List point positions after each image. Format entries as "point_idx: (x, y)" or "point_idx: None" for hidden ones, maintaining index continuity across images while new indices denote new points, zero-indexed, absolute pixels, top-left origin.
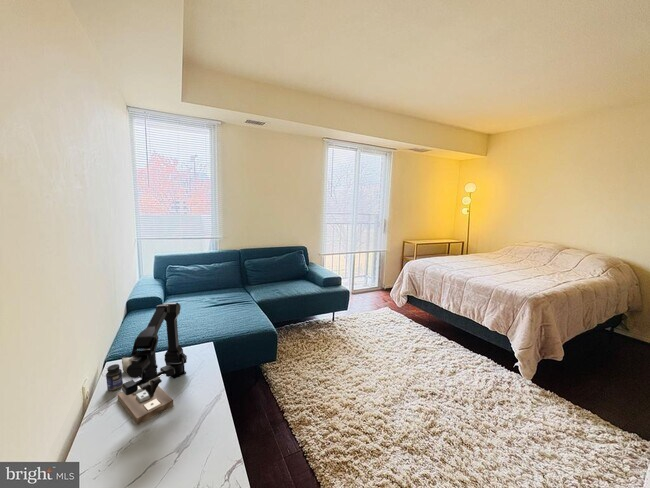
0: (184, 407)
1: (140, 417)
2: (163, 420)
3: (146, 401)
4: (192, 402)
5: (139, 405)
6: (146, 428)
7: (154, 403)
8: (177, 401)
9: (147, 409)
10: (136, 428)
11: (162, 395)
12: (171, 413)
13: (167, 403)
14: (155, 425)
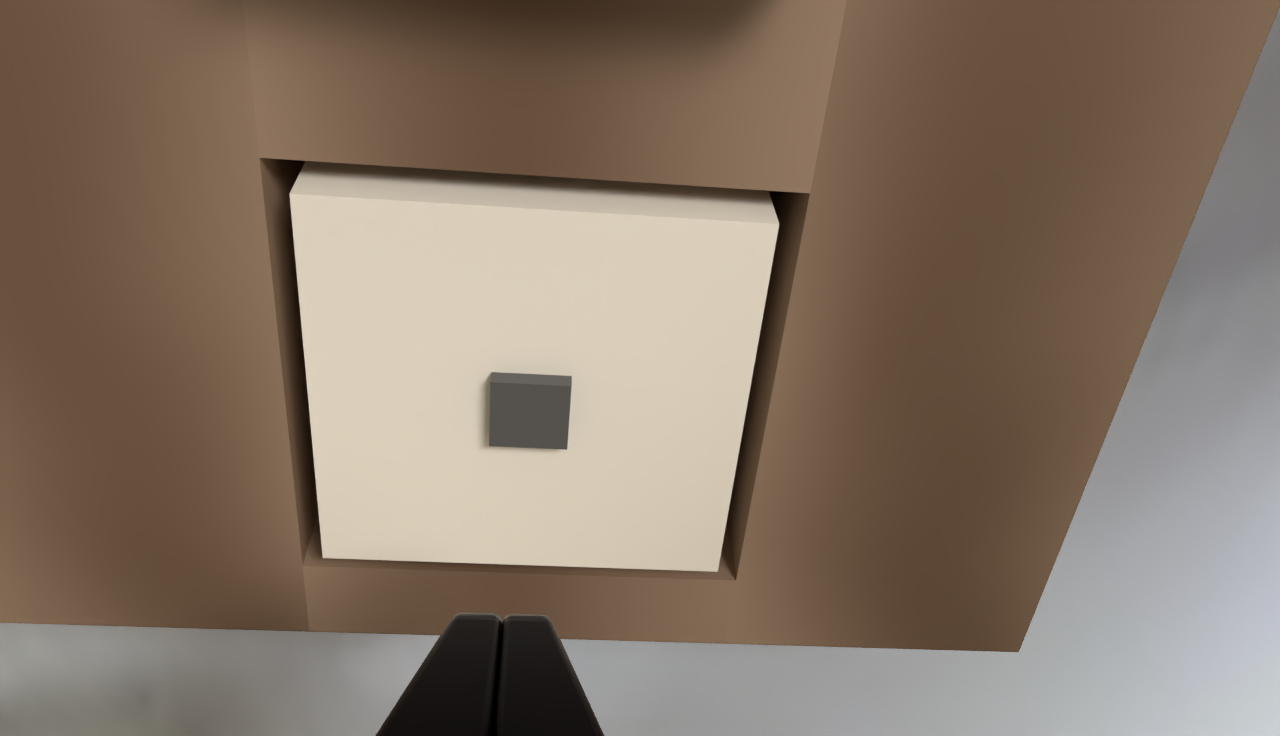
0: (1028, 700)
1: (82, 604)
2: None
3: (464, 49)
4: (1224, 693)
5: (161, 74)
6: (207, 677)
7: (597, 435)
8: (1131, 434)
9: (320, 521)
10: None
11: (1035, 212)
12: (763, 666)
13: (845, 626)
14: (375, 722)
